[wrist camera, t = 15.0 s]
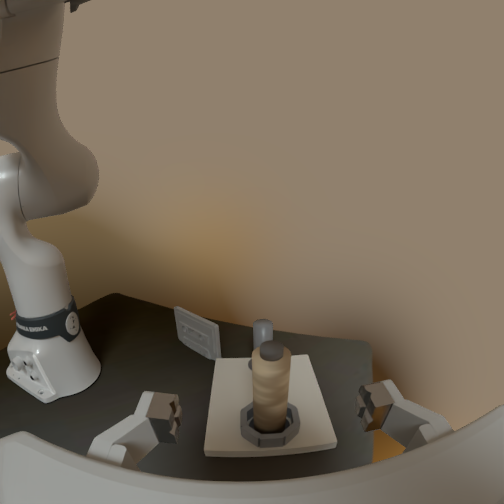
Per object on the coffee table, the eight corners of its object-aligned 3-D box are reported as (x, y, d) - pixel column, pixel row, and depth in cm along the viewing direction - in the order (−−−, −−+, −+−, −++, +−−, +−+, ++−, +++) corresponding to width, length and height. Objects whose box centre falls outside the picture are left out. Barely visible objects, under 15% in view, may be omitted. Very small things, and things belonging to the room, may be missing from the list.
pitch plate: (205, 456, 26) (193, 409, 23) (217, 363, 45) (212, 317, 43) (335, 447, 26) (350, 399, 24) (306, 359, 46) (310, 313, 43)
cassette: (224, 359, 47) (220, 324, 45) (216, 364, 45) (212, 328, 43) (183, 337, 54) (178, 304, 52) (176, 340, 53) (171, 307, 51)
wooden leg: (254, 438, 27) (252, 359, 24) (253, 416, 31) (251, 337, 28) (287, 436, 27) (294, 356, 24) (283, 414, 31) (288, 335, 28)
